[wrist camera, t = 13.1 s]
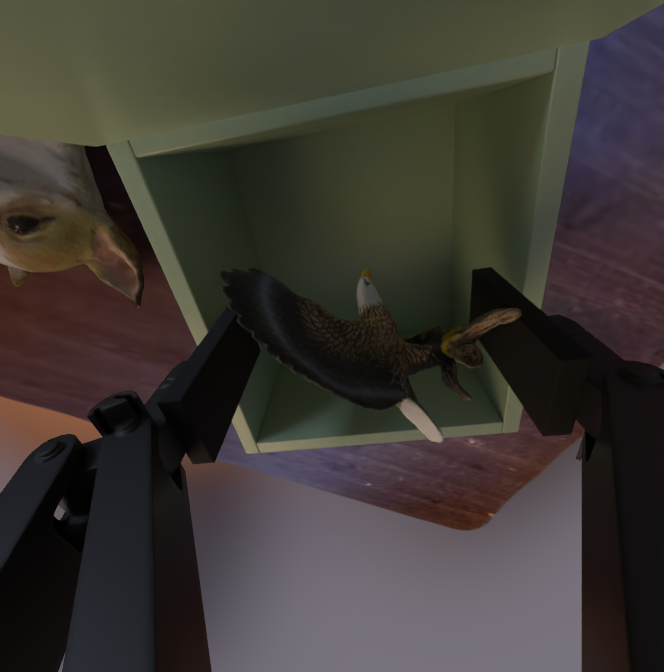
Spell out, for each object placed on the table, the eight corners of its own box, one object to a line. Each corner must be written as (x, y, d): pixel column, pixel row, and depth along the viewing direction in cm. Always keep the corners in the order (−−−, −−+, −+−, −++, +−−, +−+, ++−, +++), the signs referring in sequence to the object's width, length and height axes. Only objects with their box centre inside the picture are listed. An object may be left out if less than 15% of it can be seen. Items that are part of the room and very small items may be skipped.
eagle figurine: (486, 210, 11) (220, 199, 10) (565, 415, 8) (200, 439, 7) (410, 315, 18) (247, 317, 17) (438, 447, 15) (242, 463, 14)
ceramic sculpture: (-1, 38, 12) (99, 354, 20) (133, 67, 19) (165, 292, 27) (-314, -27, 11) (-77, 325, 20) (-54, 28, 18) (38, 269, 27)
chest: (457, 329, 27) (519, 432, 18) (279, 350, 29) (246, 454, 20) (466, 85, 19) (594, 25, 9) (215, 137, 21) (99, 133, 11)
